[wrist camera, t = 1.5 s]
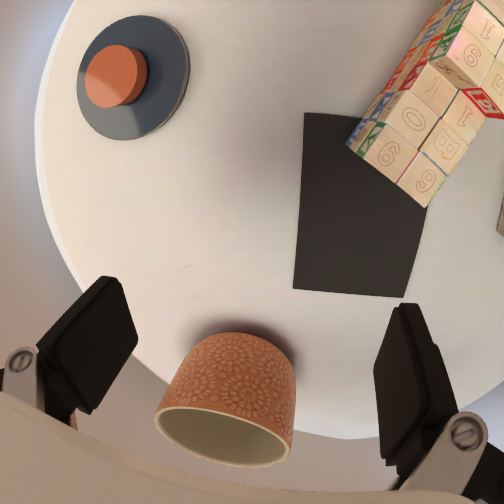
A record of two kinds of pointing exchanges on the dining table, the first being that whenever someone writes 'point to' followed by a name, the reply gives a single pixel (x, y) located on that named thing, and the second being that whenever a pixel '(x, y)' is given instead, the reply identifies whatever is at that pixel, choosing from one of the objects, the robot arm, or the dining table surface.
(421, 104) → the stack of blocks
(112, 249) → the dining table surface
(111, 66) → the orange short cylinder
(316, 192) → the rubber mat
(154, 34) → the slate plate
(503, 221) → the coffee box
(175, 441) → the planter
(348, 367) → the dining table surface
